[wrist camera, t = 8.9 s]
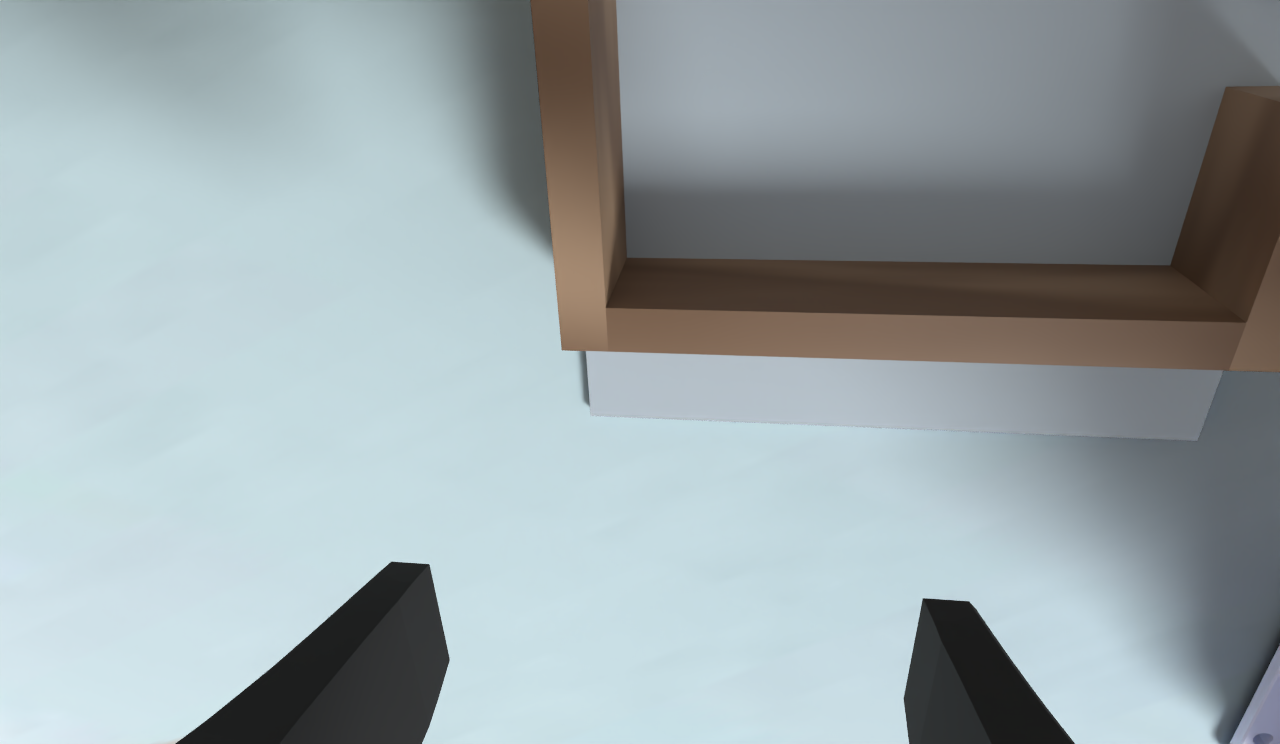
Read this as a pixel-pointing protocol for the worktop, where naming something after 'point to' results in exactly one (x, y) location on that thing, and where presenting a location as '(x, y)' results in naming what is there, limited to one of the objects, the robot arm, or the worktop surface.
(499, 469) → the worktop surface
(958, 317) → the wooden frame
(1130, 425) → the mat
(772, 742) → the worktop surface
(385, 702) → the robot arm
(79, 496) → the worktop surface
